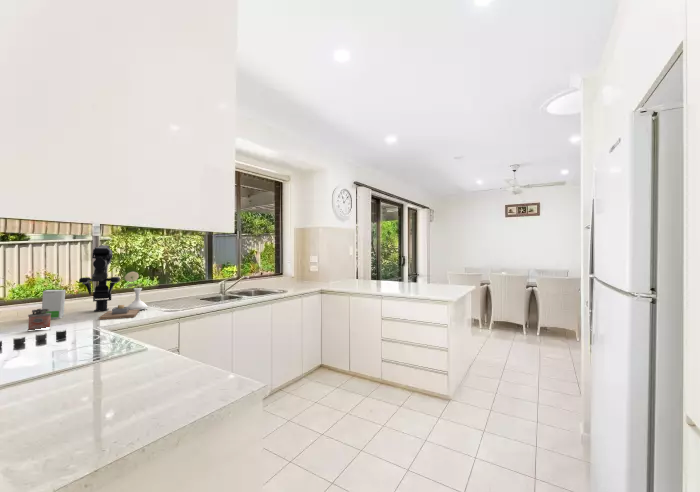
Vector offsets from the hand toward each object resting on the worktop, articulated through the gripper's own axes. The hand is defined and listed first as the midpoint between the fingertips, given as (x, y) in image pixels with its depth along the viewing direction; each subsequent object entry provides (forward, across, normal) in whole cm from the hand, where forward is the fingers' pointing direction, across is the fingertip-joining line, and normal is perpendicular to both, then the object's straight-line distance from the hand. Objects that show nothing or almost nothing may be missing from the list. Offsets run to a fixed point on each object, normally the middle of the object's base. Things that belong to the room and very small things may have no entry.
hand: (99, 294), depth 189 cm
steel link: (+10, +12, -9) cm, 18 cm away
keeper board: (+12, +12, -9) cm, 19 cm away
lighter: (+12, -15, -37) cm, 42 cm away
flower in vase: (+12, +17, +10) cm, 23 cm away
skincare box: (+12, -20, -3) cm, 24 cm away
